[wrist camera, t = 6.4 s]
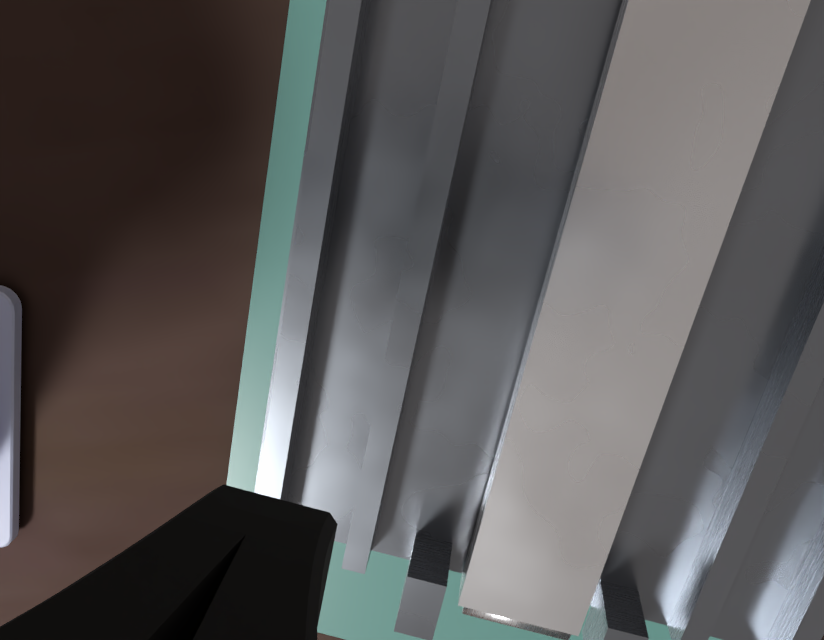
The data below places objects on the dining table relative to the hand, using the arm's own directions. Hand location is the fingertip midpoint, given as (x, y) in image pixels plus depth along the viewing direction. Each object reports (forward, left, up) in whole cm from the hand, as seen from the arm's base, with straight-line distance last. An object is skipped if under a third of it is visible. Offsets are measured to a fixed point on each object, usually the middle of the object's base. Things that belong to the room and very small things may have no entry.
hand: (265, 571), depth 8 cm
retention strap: (+4, +2, -7) cm, 8 cm away
